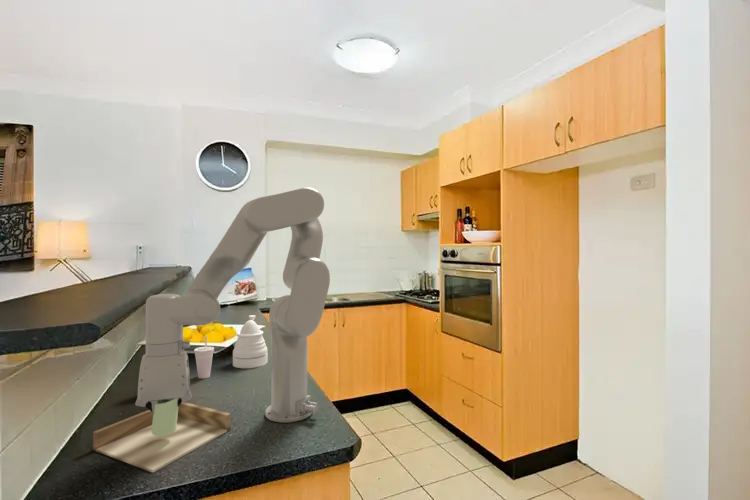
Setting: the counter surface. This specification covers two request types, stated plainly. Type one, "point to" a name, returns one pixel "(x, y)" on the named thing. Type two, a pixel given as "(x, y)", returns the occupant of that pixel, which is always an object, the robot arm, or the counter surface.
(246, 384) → the counter surface
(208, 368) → the smoothie
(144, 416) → the wooden tray
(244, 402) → the counter surface
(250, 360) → the honey pot
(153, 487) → the counter surface
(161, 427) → the candle
